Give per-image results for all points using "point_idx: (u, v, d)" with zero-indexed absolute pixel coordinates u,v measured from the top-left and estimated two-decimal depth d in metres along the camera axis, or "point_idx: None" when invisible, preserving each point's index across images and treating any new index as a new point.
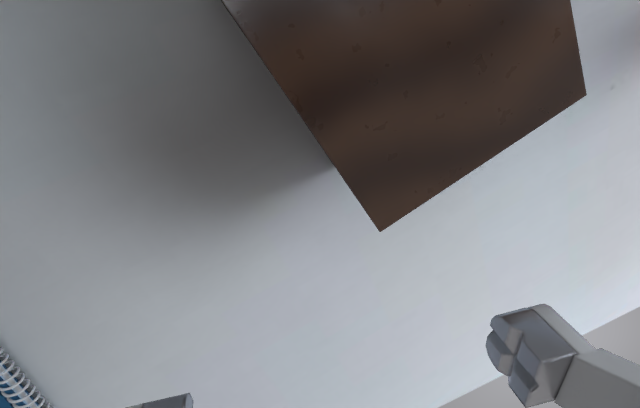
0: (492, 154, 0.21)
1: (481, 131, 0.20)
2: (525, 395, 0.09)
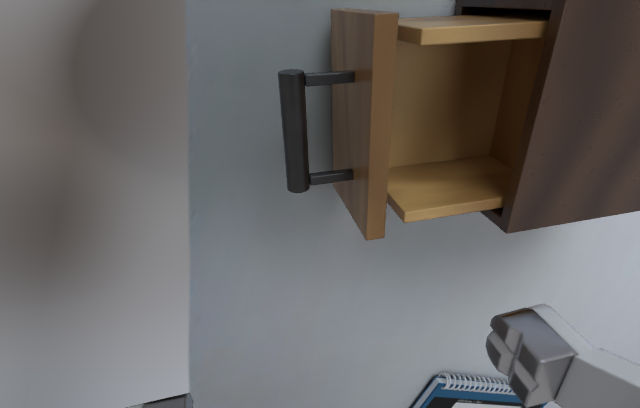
0: None
1: None
2: (525, 395, 0.09)
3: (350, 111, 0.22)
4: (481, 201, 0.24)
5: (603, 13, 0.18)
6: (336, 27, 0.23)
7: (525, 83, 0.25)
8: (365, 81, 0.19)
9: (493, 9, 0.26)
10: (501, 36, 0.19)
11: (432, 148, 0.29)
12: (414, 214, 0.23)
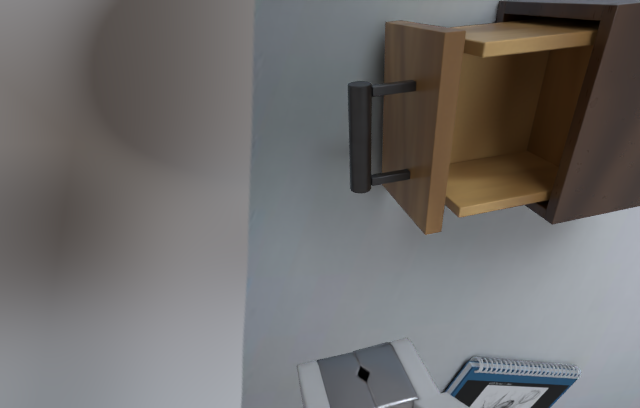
0: None
1: None
2: None
3: (408, 116, 0.24)
4: (528, 195, 0.26)
5: None
6: (391, 39, 0.25)
7: (564, 83, 0.27)
8: (429, 91, 0.21)
9: None
10: (554, 46, 0.21)
11: (474, 146, 0.31)
12: (469, 209, 0.25)
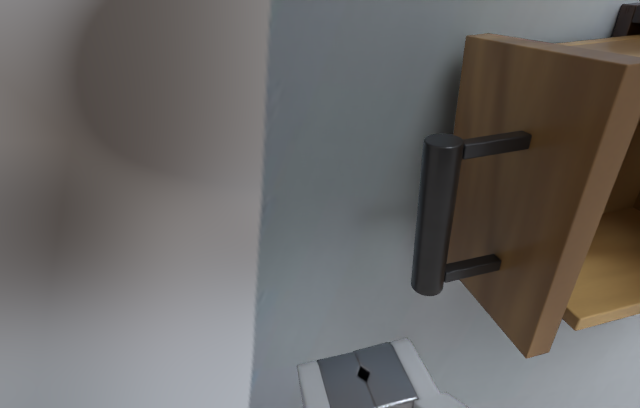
0: None
1: None
2: None
3: (505, 182, 0.16)
4: None
5: None
6: (478, 62, 0.16)
7: None
8: (566, 156, 0.13)
9: None
10: None
11: None
12: (591, 319, 0.17)
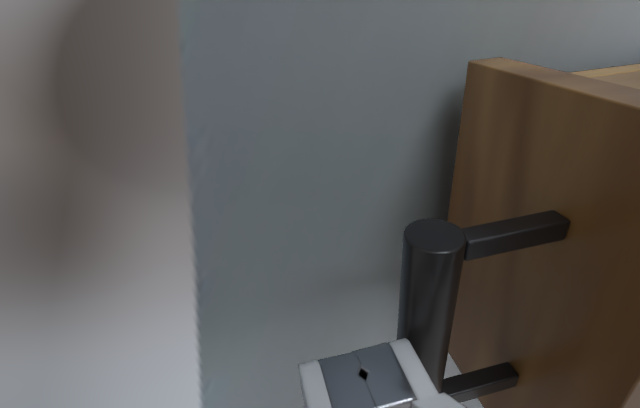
0: None
1: None
2: None
3: (526, 274, 0.11)
4: None
5: None
6: (486, 99, 0.11)
7: None
8: (632, 269, 0.08)
9: None
10: None
11: None
12: None
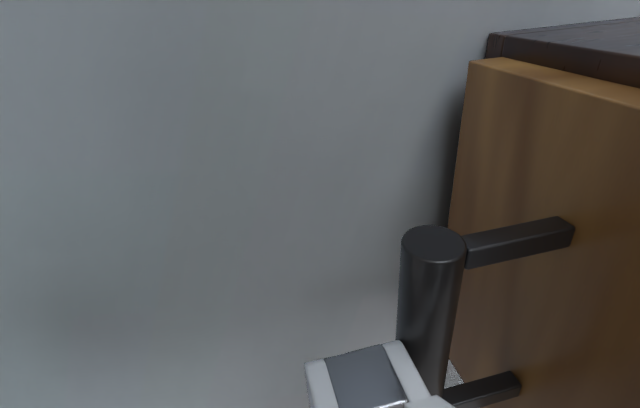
0: None
1: None
2: None
3: (529, 281, 0.11)
4: None
5: None
6: (487, 100, 0.11)
7: None
8: None
9: None
10: None
11: None
12: None
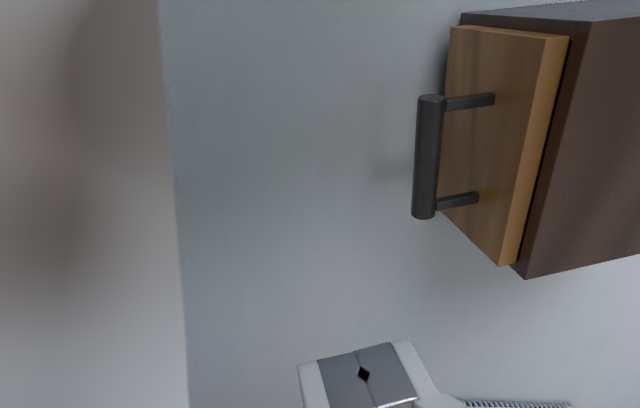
0: None
1: None
2: None
3: (480, 133, 0.21)
4: None
5: (633, 41, 0.16)
6: (459, 45, 0.22)
7: None
8: (515, 105, 0.18)
9: None
10: None
11: None
12: None
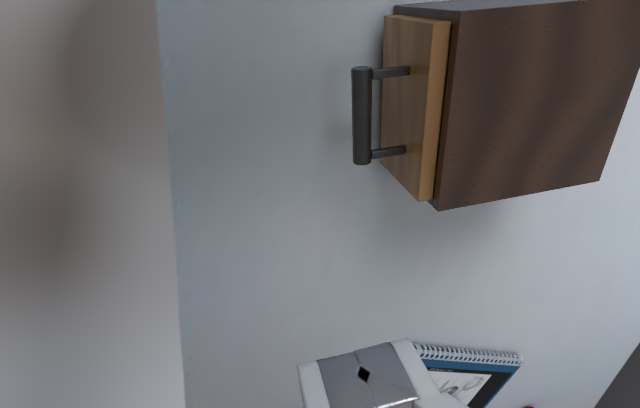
0: (630, 87, 0.27)
1: (609, 91, 0.27)
2: None
3: (403, 98, 0.28)
4: None
5: (494, 26, 0.22)
6: (389, 30, 0.28)
7: None
8: (421, 73, 0.25)
9: None
10: None
11: None
12: None
